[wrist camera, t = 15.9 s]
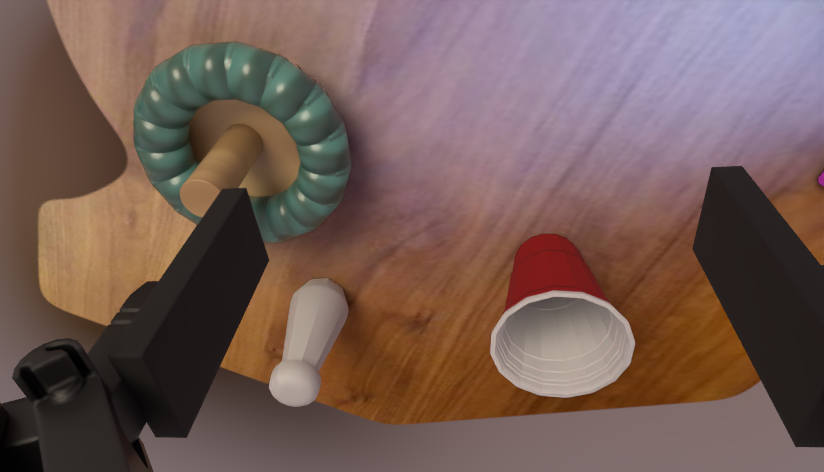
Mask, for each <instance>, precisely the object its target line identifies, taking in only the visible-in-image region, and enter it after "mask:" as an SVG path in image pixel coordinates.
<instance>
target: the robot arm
mask: <svg viewBox="0 0 824 472" xmlns="http://www.w3.org/2000/svg"><path fill="white" fill-rule="evenodd" d="M693 251H694V253H695V255H696V257H697V259H698V261H699V262H700V264H701V266H702V268H703V270H704V272H705V274H706V276H707V278H708V280H709V282H710V284H711V285H712V287H713V289H714V291H715V293H716V295H717V297H718V299H719V301H720V303H721V305H722V307H723V308H724V310H725V312H726V314H727V316H728V318H729V320H730V322H731V324H732V326H733V328H734V330H735V331H736V333H737V335H738V337H739V339H740V341H741V343H742V345H743V347H744V349H745V351H746V352H747V354H748V356H749V358H750V360H751V362H752V364H753V366H754V368H755V370H756V372H757V374H758V375H759V377H760V379H761V381H762V383H763V385H764V387H765V389H766V391H767V393H768V394H769V397H770V398H771V400H772V402H773V404H774V406H775V408H776V410H777V412H778V414H779V416H780V418H781V419H782V421H783V423H784V425H785V427H786V429H787V431H788V433H789V435H790V437H791V439H792V441H793V442H794V444H795V446H796V447H824V265H820V264H819V262H818V261H817V260H816V259H815V257H814V256H813V255H812V254H811V252H810V251H809V250H808V248H807V247H806V246H805V245H804V243H803V242H802V241H801V240H800V238H799V237H798V236H797V235H796V233H795V232H794V231H793V230H792V228H791V227H790V226H789V225H788V223H787V222H786V221H785V220H784V218H783V217H782V216H781V215H780V213H779V212H778V211H777V209H776V208H775V207H774V206H773V204H772V203H771V202H770V201H769V199H768V198H767V197H766V196H765V194H764V193H763V192H762V191H761V189H760V188H759V187H758V186H757V184H756V183H755V182H754V181H753V179H752V178H751V177H750V176H749V174H748V173H747V172H746V170H745V169H744V168H743V167H742V166H732V167H712V168H711V172H710V177H709V181H708V185H707V189H706V194H705V198H704V202H703V206H702V211H701V215H700V219H699V223H698V227H697V232H696V236H695V240H694V244H693ZM268 262H269V258H268V255H267V252H266V249H265V246H264V242H263V239H262V236H261V233H260V230H259V226H258V223H257V220H256V217H255V214H254V210H253V207H252V204H251V201H250V198H249V194H248V191H247V188H230V189H222V190H221V191H220V193H219V194H218V196H217V197H216V198H215V200H214V201H213V203H212V204H211V206H210V207H209V209H208V210H207V212H206V213H205V215H204V216H203V217H202V219H201V220H200V222H199V223H198V225H197V226H196V228H195V229H194V231H193V232H192V233H191V235H190V236H189V238H188V239H187V241H186V242H185V244H184V245H183V247H182V248H181V250H180V251H179V252H178V254H177V255H176V257H175V258H174V260H173V261H172V263H171V264H170V266H169V267H168V268H167V270H166V271H165V273H164V274H163V276H162V277H161V279H160V280H159V281H151V282H146V283H145V284H143V285H142V286H141V287H140V288H138V289H137V290H136V291H135V292H133V293H132V294H131V295H130V296H129V297H128V299H127V300H126V302H125V303H124V304H123V306H122V307H121V308H120V312H119V313H117V314H116V315H115V317H114V318H113V319H112V321H111V325H108V326H107V328H106V329H105V330H104V332H103V333H102V335H101V336H100V337H99V339H98V340H97V341H96V343H95V344H94V346H93V347H92V348H91V350H90V351H89V353H88V354H86V352H85V350H84V349H83V347H82V346H81V344H80V343H79V342H78V341H77V340H73V339H57V340H54V341H51V342H48V343H45V344H43V345H41V346H39V347H38V348H36V349H34V350H32V351H31V352H30V353H28V354H27V355H26V356H25V357H24V358H23V359H21V360H20V362H19V363H18V365H17V366H16V367H15V369H14V372H13V377H12V378H13V380H14V381H15V382H16V384H17V385H18V386H19V388H20V389H21V390H22V391H23V393H24V394H25V395H26V398H22V399H18V400H14V401H10V402H6V403H3V404H1V403H0V472H153V469H152V467H151V464H150V461H149V458H148V455H147V453H146V450H145V447H144V444H143V443H142V441H141V440H140V438H139V435H140V433H141V431H142V429H143V427H144V425H145V424H146V422H147V423H148V425H149V427H150V428H151V430H152V432H153V433H154V435H155V437H177V438H186V437H187V436H188V434H189V431H190V429H191V427H192V425H193V423H194V421H195V419H196V416H197V414H198V412H199V410H200V408H201V406H202V403H203V401H204V399H205V397H206V395H207V393H208V391H209V388H210V386H211V384H212V382H213V380H214V377H215V376H216V373H217V371H218V369H219V367H220V365H221V363H222V360H223V358H224V356H225V354H226V352H227V350H228V348H229V345H230V343H231V341H232V339H233V337H234V335H235V333H236V330H237V328H238V326H239V324H240V322H241V320H242V317H243V315H244V313H245V311H246V309H247V307H248V305H249V302H250V300H251V298H252V296H253V294H254V292H255V289H256V287H257V285H258V283H259V281H260V279H261V277H262V274H263V272H264V270H265V268H266V266H267V264H268Z"/></svg>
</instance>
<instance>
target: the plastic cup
mask: <svg viewBox="0 0 824 472" xmlns="http://www.w3.org/2000/svg"><path fill="white" fill-rule="evenodd" d="M634 346H635V341H634V337H633V334H632V331H631V328H630V325H629V322H628V321H627V320H626V319H625V318H624V317H623V316H622V315H621V314H620V313H619V312H618V311H617V310H616V309H615V308H614V307H613V306H612V305H611V304H610V302H609V301H608V300H607V299H606V297H605V295H604V294H603V292H602V290H601V288H600V286H599V285H598V283H597V281H596V279H595V277H594V276H593V274H592V272H591V270H590V269H589V267H588V265H587V264H586V263H585V262H584V260H583V258H582V256H581V254H580V253H579V251H578V249H577V248H576V247H575V246H574V245H573V244H572V243H571V242H570V241H569V240H568V239H567V238H565V237H562V236H559V235H557V234H541V235H538V236H534V237H531V238H530V239H528V240H527V241H526V242H524V243H523V244H522V245H521V247H520V248H519V250H518V251H517V253H516V256H515V259H514V266H513V272H512V274H511V278H510V284H509V289H508V295H507V300H506V306H505V310H504V312H503V316H502V317H501V319H500V320H499V322H498V323H497V325H496V326H495V328H494V330H493V331H492V335H491V351H490V354H491V356H492V358H493V360H494V362H495V364H496V366H497V368H498V370H499V372H500V373H501V374H502V375H503V376H505V377H506V378H507V379H508V380H509V381H511V382H512V383H513V384H514V385H515V386H517V387H519V388H522V389H524V390H527V391H529V392H532V393H535V394H537V395H540V396H552V397H564V398H568V397H573V396H578V395H584V394H589V393H593V392H595V391H597V390H599V389H601V388H603V387H605V386H607V385H608V384H610V383H612V382H614V381H616V379H617V378H618V377H619V376H620V375H621V374H622V373H623V371H624V370H625V369H626V368H627V367H628V366H629V365H630V363H631V358H632V354H633V350H634Z"/></svg>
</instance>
